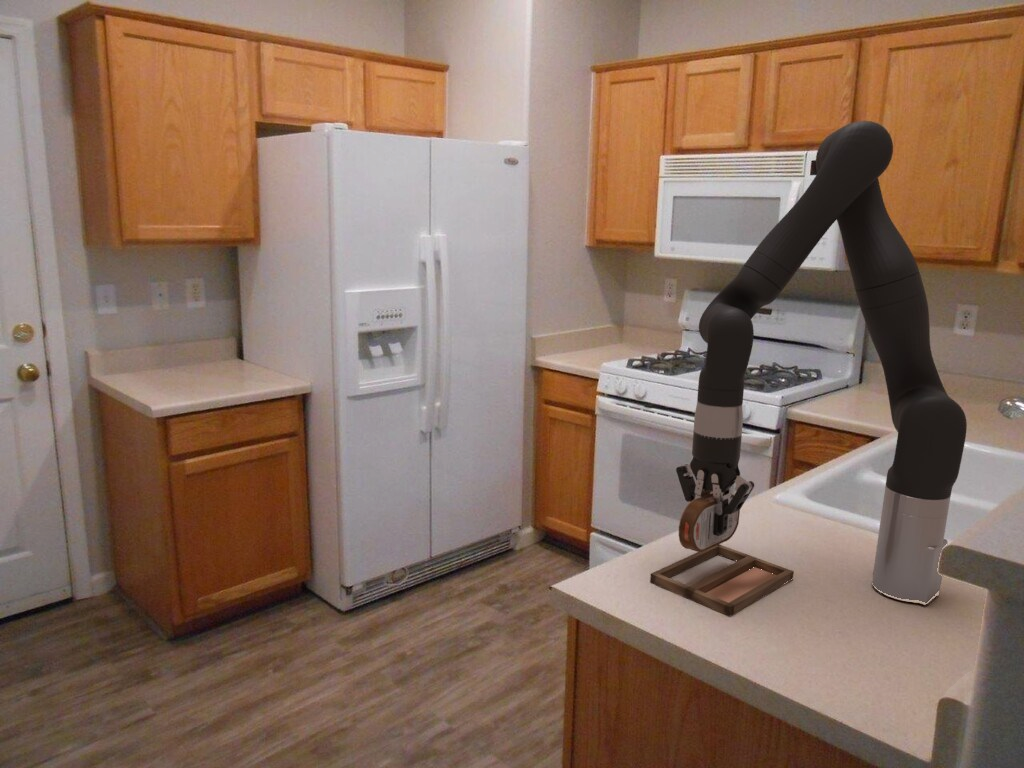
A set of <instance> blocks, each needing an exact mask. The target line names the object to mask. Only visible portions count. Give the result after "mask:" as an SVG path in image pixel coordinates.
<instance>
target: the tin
mask: <svg viewBox="0 0 1024 768" xmlns="http://www.w3.org/2000/svg"><path fill="white" fill-rule="evenodd" d="M734 495H735V494H733V493H731V497H730V501H731V500H732V498H733V496H734ZM715 504H716V503H715V500H714V499H713V492H711V493H710V494H708V495H706V496H703V497H700V498H697V499H694V500H693V501H691V502H688V504H687V505H686V507H685V508H684V510H683V511H682V514H681V516H680V521H679V525H678V539H679V543H680V545H681V546H682V547H683V549H686V550H691V551H694V552H696V553H697V552H703V551H705V550H708V549H710V548H712V547H714V546H716V545H719V544H720V545H722V544H723V543H725V542H728V541H730V540H731V538H732V537H733V535H735V533H736V531H737V529H738V526H739V523H740V522H739V521H740V513H741V509H740V510H739V511H737V512H735V513H732V514H728V524H727V530H726V532H724V533H723V534H722V535H720V536H716V535H714V534H713V531H714V518H715V514H716V506H715Z"/></svg>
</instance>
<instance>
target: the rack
mask: <svg viewBox="0 0 1024 768" xmlns="http://www.w3.org/2000/svg"><path fill="white" fill-rule="evenodd" d="M717 554H719V556H720V555H722V556H721V557H723V556H725V557H724V558H726V557H728V558H731V559H734V560H737V562H736V561H734V560H733V561H734V562H733V563H732V564H729V565H727V566H726V567H724V568H722V569H719V570H718V571H716V572H714V573H712V574H709V575H707V576H705V577H703V578H702V579H699V580H698V581H695V582H694V583H692V584H690V585H687V584H684V583H683V582H680V581H678V580H675V579H673V578H672V577H674V576H676V575H679V574H680V573H682V572H684V571H687V570H688V569H691V568H692V567H693V568H694V567H695V566H696V565H698V564H701V563H703V562H705V561H708V560H709V559H712V558H714V557H716V556H718V555H717ZM715 555H716V556H715ZM728 558H727V559H728ZM731 559H730V560H731ZM753 567H754V568H753ZM749 569H750V570H749ZM761 569H762V570H761ZM772 573H773V574H772ZM794 574H795V573H794V570H792V569H789V568H786V567H784V566H780V565H777V564H775V563H772V562H769V561H767V560H763V559H761V558H759V557H756V556H752V555H750V554H747V553H744V552H741V551H738V550H735V549H733V548H731V547H728V546H726V545H722V544H719V545H716V546H714V547H712V548H710V549H708V550H705V551H703V552H697V551H696V552H695V553H693V554H691V555H688V556H687V557H684V558H682V559H679V560H677V561H674V562H673V563H670V564H669V565H666V566H664V567H662V568H660V569H658V570H656V571H654V572H651V573H650V580H649V582H650V583H651V584H653V585H655V586H658V587H660V588H663V589H665V590H667V591H670V592H672V593H673V594H677V595H679V596H681V597H684V598H685V599H688V600H691V601H693V602H695V603H697V604H700V605H702V606H705V607H706V608H709V609H712V610H714V611H716V612H719V613H721V614H723V615H725V616H728V617H731V616H733V615H735V614H737V613H738V612H740V611H742V610H744V609H745V608H748V607H749V606H751V605H752V604H754V603H756V602H757V601H759V600H760V598H761V599H762V598H764V597H766V596H768V595H769V594H770V592H771V593H772V591H773V590H774V591H776V590H777V589H776V588H778V587H779V588H781V587H782V586H781V585H783V584H784V583H786V582H787V581H789V580H791V579H792V578H793V579H794ZM791 581H792V580H791ZM786 584H787V583H786ZM780 586H781V587H780ZM783 586H784V585H783ZM779 588H778V589H779ZM775 589H776V590H775ZM774 591H773V592H774ZM768 593H769V594H768ZM765 595H766V596H765ZM763 596H764V597H763ZM758 599H759V600H758ZM755 601H756V602H755Z"/></svg>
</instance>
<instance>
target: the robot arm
mask: <svg viewBox="0 0 1024 768" xmlns="http://www.w3.org/2000/svg"><path fill="white" fill-rule="evenodd" d="M818 146H819V147H818V149H817V151H816V156H815V168H816V169H815V170H816V172H817V173H816V174H815V177H814V178H813V180H812V182H811V183H810V184H809V185H808V187H807V188H806V189H805V191H804V193H802V195H801V196H800V197H799V199H798V200H797V202H795V204H794V205H792V207H791V208H790V210H788V212H787V213H786V214H785V215H784V216H783V217H781V219H780V220H779V221H778V223H776V225H774V227H773V228H772V229H771V230H770V231H769V233H768V234H766V235H765V237H764V238H763V239H762V241H760V243H759V244H758V245H757V247H756V248H755V249H754V251H752V254H751V255H750V256H749V258H747V260H746V261H745V263H744V264H743V266H742V267H741V268H740V270H739V272H738V273H737V274H736V276H735V277H734V278H733V279H732V280H731V281H730V282H729V283H728V284H727V285H726V286H725V287H724V288H723V289H722V290H721V291H720V292H719V293H718V294H717V295H716V296H715V298H713V300H712V301H711V302H710V303H709V304H708V305H707V307H706V308H705V309H704V311H703V312H702V314H701V316H700V319H699V322H698V331H699V335H700V337H701V339H702V340H703V341H704V342H705V343H706V345H707V349H706V358H705V364H704V366H703V367H702V368H701V370H700V372H699V378H698V383H697V385H698V386H697V401H696V407H695V410H694V411H695V412H694V418H693V434H692V447H691V454H692V459H691V460H690V463H689V464H682V465H679V466H678V467H676V469H675V471H676V474H677V478H678V481H679V484H680V488H681V490H682V494H683V497H684V500H685V501H686V502H688V503H690V502H691V501H693V500H694V499H697V498H700V497H703V496H706V495H708V494H711V493H713V499H714V500H715V503H716V504H715V506H716V514H715V518H714V531H713V534H714V535H716V536H720V535H722V534H723V533H724V532H726V530H727V524H728V514H732V513H735V512H737V511H739V510H740V511H741V509H742V507H743V505H745V503H746V500H747V499H748V497H749V496H750V494H751V492H752V491H753V489H754V488H755V483H754V481H752V480H750V481H748V480H746V479H745V478H744V477H742V476H741V471H740V469H739V463H740V460H741V459H740V457H741V450H742V449H741V448H742V438H743V436H742V434H743V426H744V425H743V424H744V423H743V422H744V412H743V404H744V403H743V402H744V390H745V389H744V388H745V376H746V372H747V369H748V366H749V362H750V358H751V355H752V351H753V346H754V345H753V344H754V334H755V333H754V330H755V329H754V325H753V322H752V318H754V316H755V315H756V314H757V313H758V312H759V311H760V309H761V308H762V307H765V306H767V305H769V304H771V303H772V302H774V301H775V300H776V299H777V298H778V297H779V295H780V294H781V293H782V291H783V290H784V289H785V288H786V286H787V285H788V284H789V282H790V281H791V280H792V278H793V277H794V276H795V274H796V273H797V271H798V270H799V269H800V268H801V266H802V265H803V263H804V262H805V260H806V259H807V258H808V257H809V255H810V254H811V253H812V251H813V250H814V248H815V247H816V246H817V244H818V243H819V242H820V241H821V239H822V238H823V236H824V235H825V234H826V233H827V231H828V230H829V229H830V228H831V227H832V225H833V224H834V223H835V222H836V221H837V224H838V229H839V231H840V236H841V240H842V244H843V249H844V252H845V257H846V260H847V264H848V267H849V268H848V269H849V271H850V275H851V278H852V282H853V286H854V287H853V288H854V290H855V295H856V299H857V301H858V305H859V307H860V312H861V314H862V316H863V319H864V321H865V325H866V328H867V331H868V333H869V336H870V339H871V341H872V344H873V346H874V349H875V351H876V353H877V355H878V357H879V360H880V362H881V363H880V364H881V367H882V369H883V373H884V378H885V385H886V389H887V390H886V391H887V395H888V401H889V403H888V404H889V408H890V415H891V421H892V424H893V427H894V429H895V430H896V432H897V439H896V445H895V451H894V456H893V462H892V465H891V466H890V467H889V468H888V470H887V473H886V478H885V486H884V493H883V501H882V506H881V507H882V508H881V513H880V514H881V515H880V520H879V527H878V528H879V529H878V535H877V537H878V538H877V543H876V551H875V556H874V557H875V558H874V564H873V570H872V580H871V584H872V583H873V585H874V586H875V587H876V588H877V589H878V590H880V591H882V592H883V593H886V594H888V595H891V596H894V597H897V598H901V599H909V600H919V601H922V602H925V603H927V602H928V601H929V600H930V599H931V598H932V597H933V596H935V594H936V593H937V592H938V591H939V590H940V591H941V585H942V580H943V575H942V576H941V575H939V574H938V572H937V568H938V562H939V557H940V553H941V550H942V548H943V547H944V546H945V545H946V544H947V545H948V539H945V533H946V528H947V519H948V514H949V508H950V502H951V495H952V491H953V490H952V489H953V486H954V485H955V483H956V481H957V479H958V477H959V473H960V469H961V464H962V459H963V453H964V448H965V443H966V437H967V423H968V422H967V417H966V414H965V411H964V410H963V408H962V406H960V404H959V403H958V402H956V401H955V400H954V399H953V398H951V397H950V396H949V394H948V393H947V391H946V389H945V386H944V384H943V382H942V380H941V378H940V375H939V372H938V370H937V366H936V364H935V361H934V357H933V354H932V348H931V338H930V337H931V334H930V333H931V331H930V313H929V312H930V311H929V310H930V309H929V304H928V300H927V299H928V298H927V294H926V289H925V287H924V282H923V279H922V276H921V273H920V268H919V266H918V263H917V261H916V259H915V257H914V254H913V253H912V251H911V249H910V247H909V245H908V244H907V242H906V241H905V239H904V236H902V234H901V233H900V231H899V230H898V228H897V227H896V225H895V223H893V221H892V219H891V217H890V215H889V213H888V211H887V207H886V205H885V202H884V198H883V194H882V193H883V192H882V190H881V185H880V181H879V177H880V176H882V175H883V173H884V172H885V171H886V170H887V168H888V167H889V165H890V163H891V161H892V158H893V154H894V143H893V139H892V137H891V134H890V132H889V131H888V130H887V129H886V128H885V127H884V125H881V124H879V123H878V122H875V121H871V120H859V121H858V120H857V121H855V122H854V121H853V122H851V123H848V124H845V125H844V126H842V127H840V128H838V129H836V130H835V131H833V132H832V133H830V134H829V135H828V136H826V137H825V138H824V140H822V142H821V144H820V145H818ZM695 480H696V481H695ZM734 484H735V486H734V490H735V494H733V495H734V496H733V498H732V500H731V501H730V497H731V494H732V487H733V485H734Z"/></svg>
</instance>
